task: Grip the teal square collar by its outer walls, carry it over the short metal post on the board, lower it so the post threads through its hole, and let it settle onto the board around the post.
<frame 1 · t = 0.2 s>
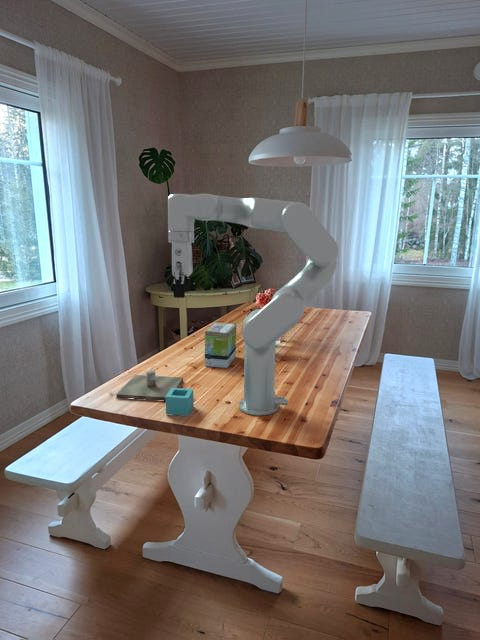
hand: (181, 294, 136), 36 cm above the table, tool pointing down, fingers open, 9 cm apart
tea box: (220, 362, 185), on the table
coffee jar: (257, 353, 196), on the table
collar: (180, 410, 139), on the table
post board: (151, 389, 156), on the table
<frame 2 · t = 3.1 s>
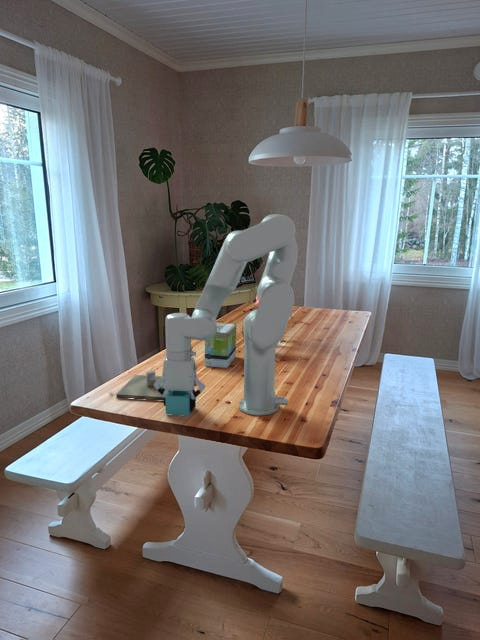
hand: (179, 408, 139), 1 cm above the table, tool pointing down, fingers closed on collar, 7 cm apart
collar: (180, 410, 140), on the table, touching gripper
everything else where it was.
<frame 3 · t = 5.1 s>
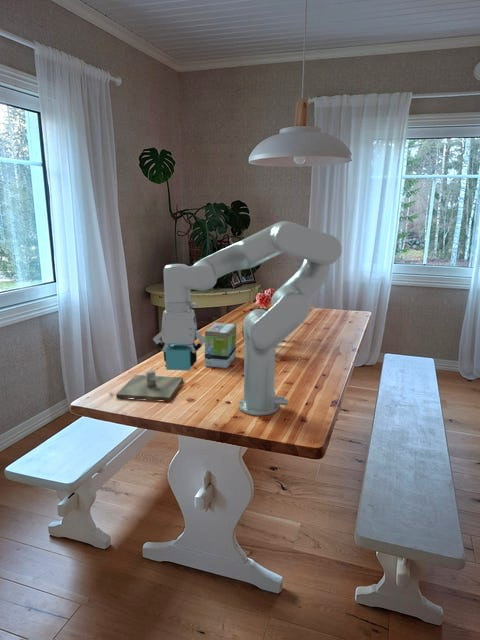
hand: (180, 363, 136), 16 cm above the table, tool pointing down, fingers closed on collar, 7 cm apart
collar: (180, 366, 136), point 15 cm above the table, touching gripper
everything else where it was.
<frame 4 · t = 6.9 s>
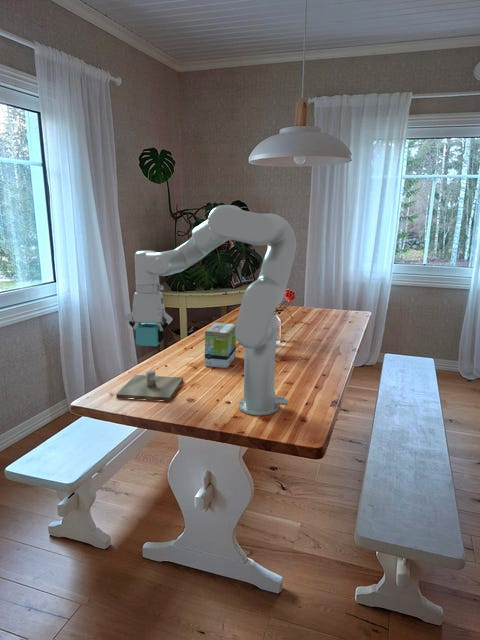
hand: (149, 340, 151), 18 cm above the table, tool pointing down, fingers closed on collar, 7 cm apart
collar: (149, 342, 151), point 17 cm above the table, touching gripper
everything else where it was.
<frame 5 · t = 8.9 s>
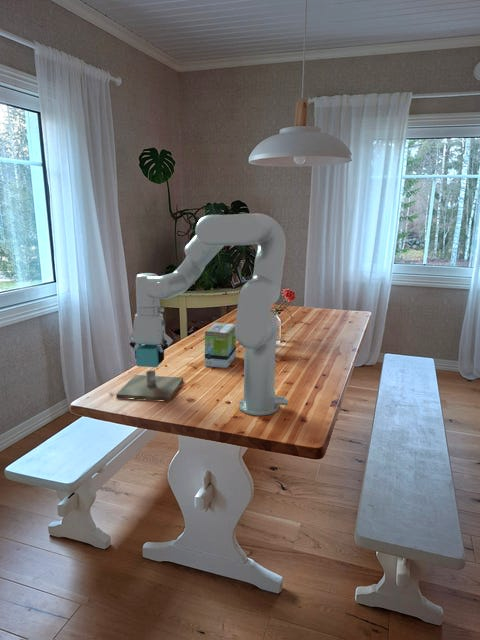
hand: (149, 361, 153), 10 cm above the table, tool pointing down, fingers closed on collar, 7 cm apart
collar: (149, 363, 153), point 10 cm above the table, touching gripper
everything else where it was.
when the fingers open (5 cm above the table, at t = 10.8 s): collar drops 2 cm, resting on post board.
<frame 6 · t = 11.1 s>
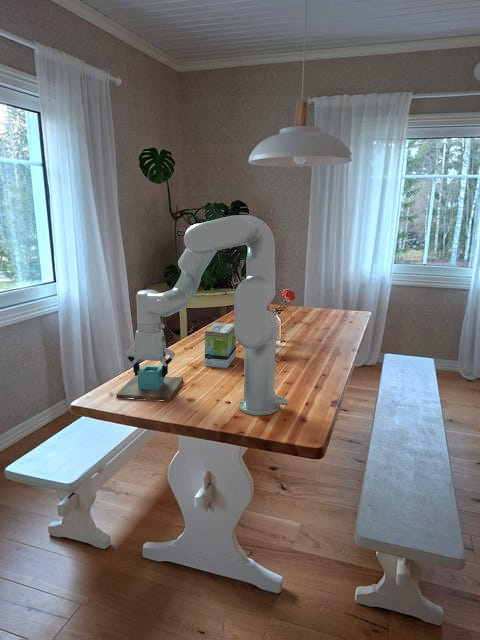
hand: (150, 375, 154), 5 cm above the table, tool pointing down, fingers open, 9 cm apart
collar: (151, 385, 155), point 1 cm above the table, touching post board
everything else where it was.
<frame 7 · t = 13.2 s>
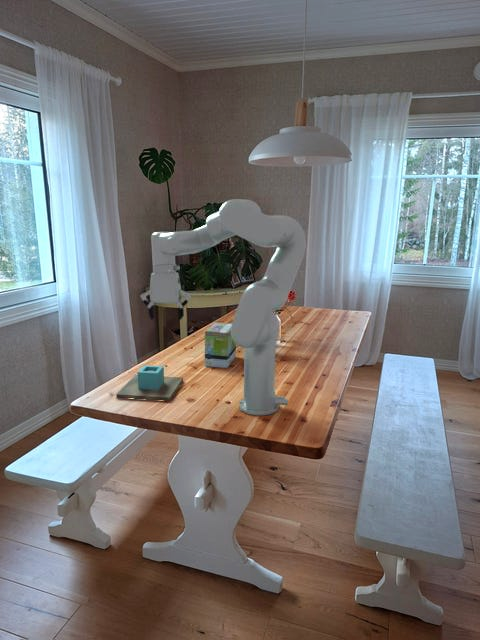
hand: (166, 318, 154), 24 cm above the table, tool pointing down, fingers open, 9 cm apart
nothing on the table moved.
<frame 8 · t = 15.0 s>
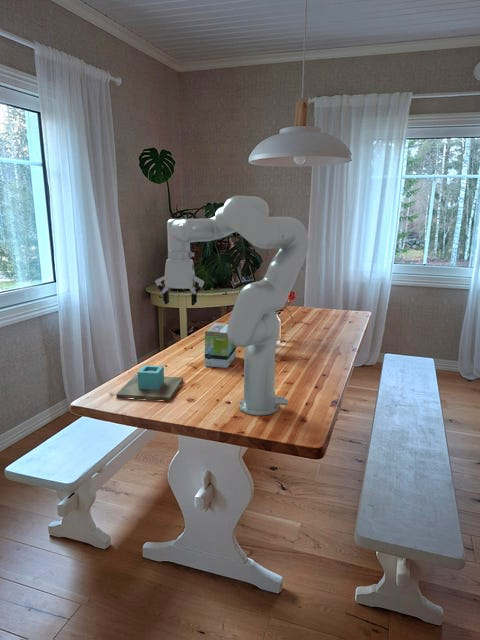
hand: (180, 304, 158), 28 cm above the table, tool pointing down, fingers open, 9 cm apart
nothing on the table moved.
at the end: collar 0.1 cm off-centre on the post board, point 1.5 cm above the post board's base; collar tilted 0°; the gripper is holding nothing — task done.
